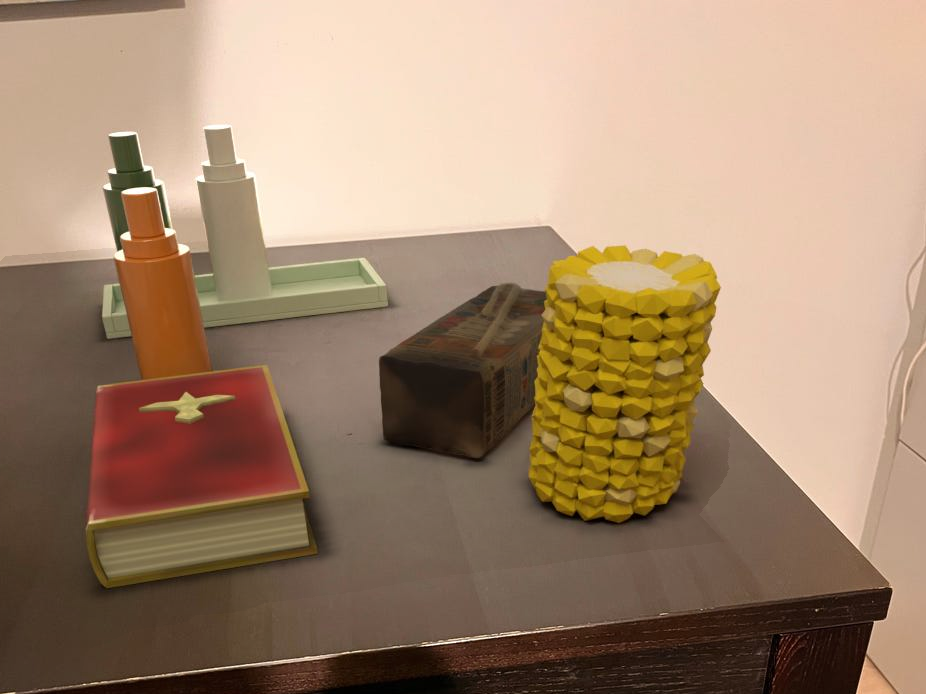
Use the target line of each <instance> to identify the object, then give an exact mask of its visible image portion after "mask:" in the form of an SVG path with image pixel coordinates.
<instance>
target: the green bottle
mask: <svg viewBox="0 0 926 694" xmlns="http://www.w3.org/2000/svg"><path fill="white" fill-rule="evenodd" d="M107 137H108V142H109V147H110V150H111V156H112V159H113V165H114V168H111V169H108V170H107V177H108V180H109V181H108V182H109V183H106V184H104V185H102V192H103V196H104V200H105V204H106V209H107V213H108V218H109V223H110V226H111V231H112V236H113V240H114V245H115V248H116V252H118V251H120V250H122V245H121V241H120V236H121V235H122V234H124V233H126V232H129V228H128V224H127V219H126V215H125V210H124V205H123V201H122V196H121V192H122V191H124V190H128V189H133V188H143V187H148V188H155V189H157V191H158V196H159V201H160V207H161V212H162V217H163V222H164V227H165V228H169V229H173V223H172V217H171V213H170V208H169V204H168V203H169V202H168V197H167V192H166V187H165V183H164V181H163V180H161V179H156V178H155V173H154V168H153V167H152V166H149V165H144V161H143V155H142V151H141V145H140V140H139V135H138V133H137V132H136V131H121V132H120V131H119V132H113V133H110V134H108V136H107ZM173 230H174V229H173Z"/></svg>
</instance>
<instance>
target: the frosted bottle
mask: <svg viewBox="0 0 926 694" xmlns="http://www.w3.org/2000/svg"><path fill="white" fill-rule="evenodd" d="M203 133H204V140H205V145H206V151H207V158H208V160H205V161H202V162H201V170H202V174H201V175H199V176H197V177H196V178H195V183H196V187H197V194H198V200H199V204H200V211H201V215H202V216H201V217H202V222H203V228H204V233H205V239H206V245H207V250H208V256H209V263H210V268H211V274H213V279H214V285H215V290H216V296H217V301H218V302H219V301H228V300H237V299H246V298H255V297H264V296H272V289H271V282H270V275H269V268H270V267H269V262H268V255H267V248H266V241H265V235H264V228H263V221H262V215H261V208H260V200H259V194H258V187H257V180H256V174H255V173H254V172H252V171H247V166H246V161H245V159H242V158H239V157H237V153H236V147H235V146H236V145H235V141H234V140H235V139H234V133H233V128H232V125H230V124H214V125H213V124H212V125H207V126H204V127H203Z"/></svg>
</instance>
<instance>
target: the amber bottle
mask: <svg viewBox="0 0 926 694" xmlns="http://www.w3.org/2000/svg"><path fill="white" fill-rule="evenodd" d="M121 196H122V201H123V205H124V210H125V215H126V219H127V224H128V228H129V232H126V233H124V234H122V235H121V236H120V241H121V245H122V250H120V251H118V252H117V251H116V252H115V253H114V254H113V262H114V266H115V269H116V275H117V278H118V282H119V283H120V287H121V292H122V296H123V300H124V305H125V309H126V313H127V318H128V322H129V326H130V331H131V335H132V336H131V339H132V343H133V347H134V352H135V356H136V361H137V367H138V369H139V375H140V377H141V379H140V380H147V379H155V378H164V377H172V376H180V375H188V374H196V373H204V372H212V371H213V368H212V361H211V356H210V351H209V345H208V340H207V334H206V329H205V328H204V323H203V318H202V313H201V307H200V302H199V297H198V291H197V286H196V280H195V275H196V274H195V270H194V267H193V266H194V265H193V260H192V255H191V250H190V247H189V246H188V245H185V244H182V243H179V240H178V235H177V231H176V230H175V229H169V228H165V227H164V222H163V217H162V212H161V207H160V201H159V196H158V191H157V189H155V188H148V187H143V188H133V189H128V190H124V191H122V192H121Z"/></svg>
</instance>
